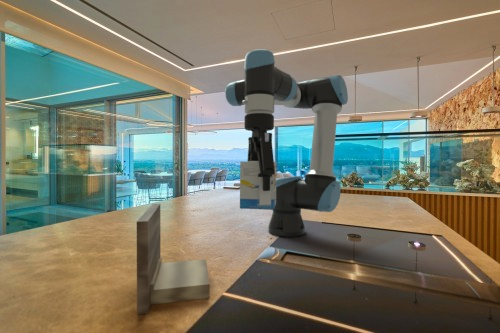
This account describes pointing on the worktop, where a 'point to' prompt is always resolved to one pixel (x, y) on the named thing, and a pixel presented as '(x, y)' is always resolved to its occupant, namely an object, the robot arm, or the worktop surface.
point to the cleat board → (164, 269)
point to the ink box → (254, 186)
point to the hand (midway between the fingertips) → (258, 200)
